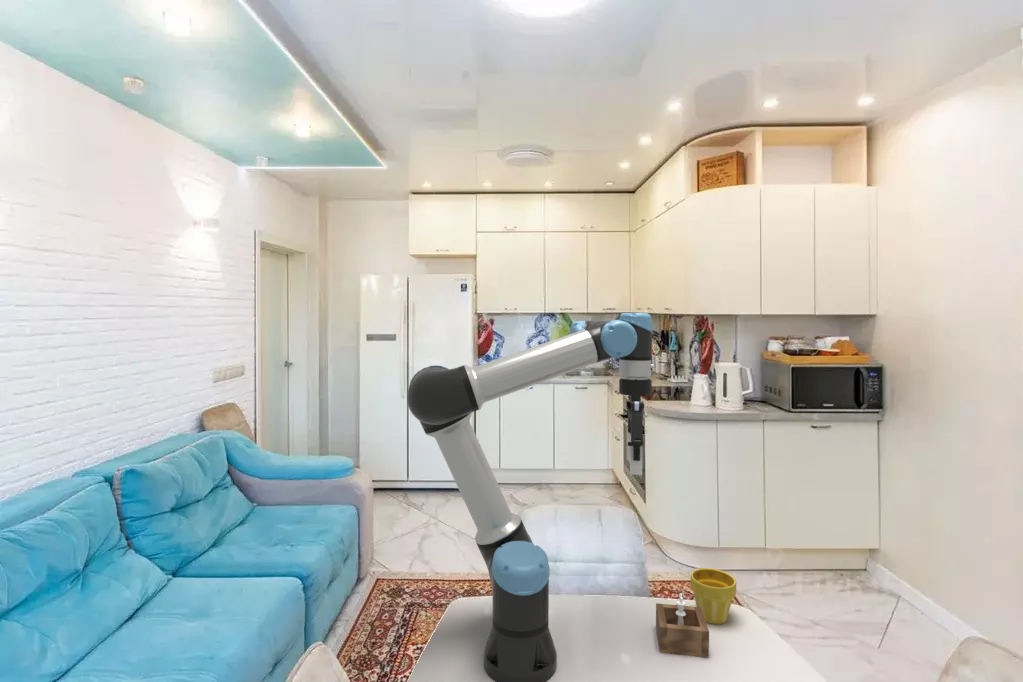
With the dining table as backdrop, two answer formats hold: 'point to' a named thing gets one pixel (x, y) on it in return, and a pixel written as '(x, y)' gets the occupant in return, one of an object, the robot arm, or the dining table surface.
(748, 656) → the dining table surface
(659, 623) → the walnut holder
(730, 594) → the plant pot
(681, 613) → the chess piece
